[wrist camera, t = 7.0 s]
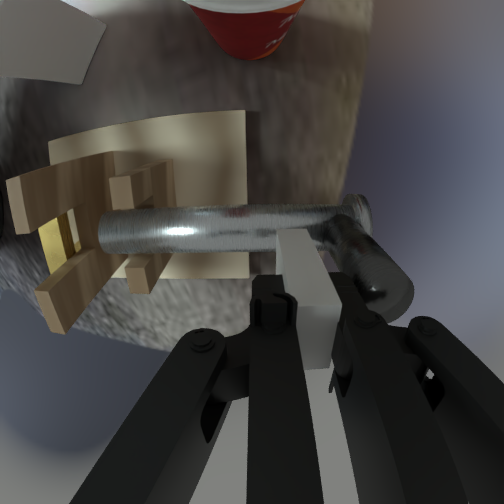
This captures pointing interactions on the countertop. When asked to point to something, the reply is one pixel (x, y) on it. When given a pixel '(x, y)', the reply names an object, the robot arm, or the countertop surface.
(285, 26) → the coffee cup
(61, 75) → the milk carton
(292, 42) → the countertop surface
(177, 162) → the wooden stand with blocks
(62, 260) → the spacer
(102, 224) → the silver bent bar
